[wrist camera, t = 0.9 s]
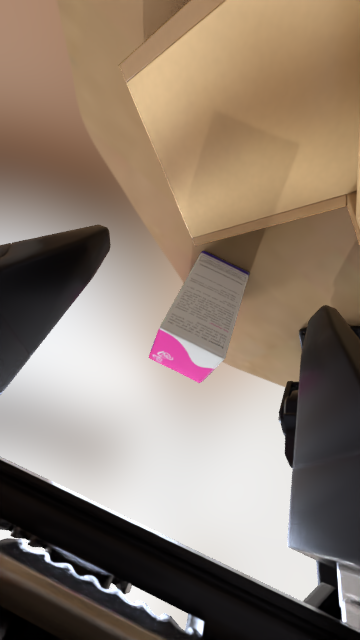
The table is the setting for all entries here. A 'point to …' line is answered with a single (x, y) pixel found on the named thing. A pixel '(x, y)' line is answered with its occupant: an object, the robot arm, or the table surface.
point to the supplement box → (201, 318)
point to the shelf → (253, 111)
